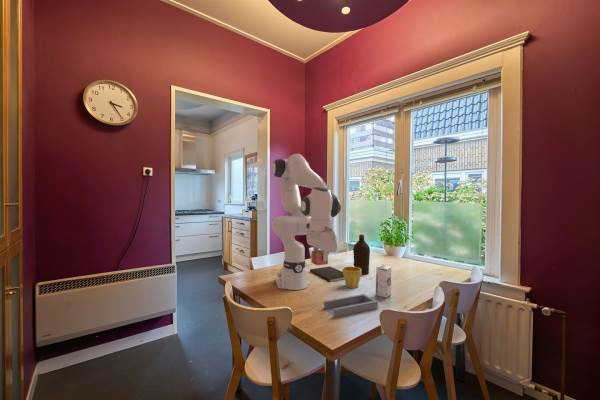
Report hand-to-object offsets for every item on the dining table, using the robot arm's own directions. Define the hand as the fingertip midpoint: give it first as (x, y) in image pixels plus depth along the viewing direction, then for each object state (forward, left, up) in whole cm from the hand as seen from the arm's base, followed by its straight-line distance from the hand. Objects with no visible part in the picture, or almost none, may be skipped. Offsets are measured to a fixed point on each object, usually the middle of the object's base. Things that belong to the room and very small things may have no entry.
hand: (320, 259), depth 105 cm
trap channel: (+2, +14, -23) cm, 27 cm away
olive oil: (-42, +53, -23) cm, 72 cm away
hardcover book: (-46, +31, -24) cm, 60 cm away
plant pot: (-23, +32, -23) cm, 46 cm away
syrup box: (-6, +39, -23) cm, 46 cm away
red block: (0, +2, +1) cm, 2 cm away
